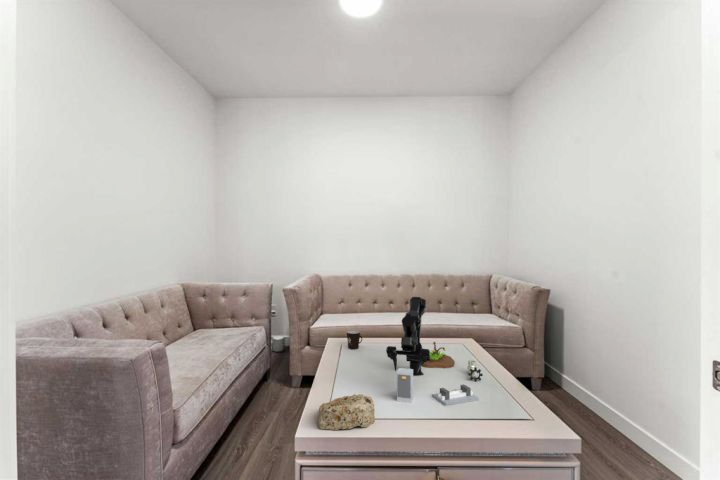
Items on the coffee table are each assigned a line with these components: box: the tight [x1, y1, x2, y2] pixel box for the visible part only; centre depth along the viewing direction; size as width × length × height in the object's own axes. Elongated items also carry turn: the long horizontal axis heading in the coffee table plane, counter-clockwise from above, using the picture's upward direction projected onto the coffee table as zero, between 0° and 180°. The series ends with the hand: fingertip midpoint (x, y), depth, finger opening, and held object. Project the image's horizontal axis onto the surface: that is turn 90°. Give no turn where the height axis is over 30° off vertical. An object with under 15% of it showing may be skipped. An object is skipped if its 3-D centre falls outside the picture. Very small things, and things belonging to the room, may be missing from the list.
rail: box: [431, 384, 480, 407], centre depth 152 cm, size 16×10×4 cm, turn 111°
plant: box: [421, 341, 455, 369], centre depth 201 cm, size 20×20×11 cm
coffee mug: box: [346, 330, 363, 350], centre depth 228 cm, size 12×9×10 cm
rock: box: [317, 393, 376, 431], centre depth 132 cm, size 21×14×10 cm
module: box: [396, 367, 414, 404], centre depth 151 cm, size 6×6×12 cm
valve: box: [467, 359, 484, 383], centre depth 177 cm, size 7×7×12 cm
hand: (406, 371), depth 154 cm, fingers open, 9 cm apart
